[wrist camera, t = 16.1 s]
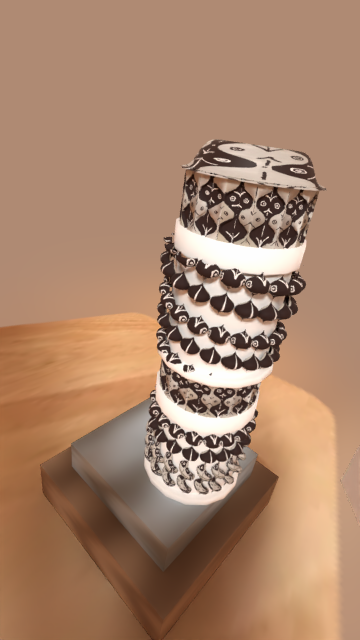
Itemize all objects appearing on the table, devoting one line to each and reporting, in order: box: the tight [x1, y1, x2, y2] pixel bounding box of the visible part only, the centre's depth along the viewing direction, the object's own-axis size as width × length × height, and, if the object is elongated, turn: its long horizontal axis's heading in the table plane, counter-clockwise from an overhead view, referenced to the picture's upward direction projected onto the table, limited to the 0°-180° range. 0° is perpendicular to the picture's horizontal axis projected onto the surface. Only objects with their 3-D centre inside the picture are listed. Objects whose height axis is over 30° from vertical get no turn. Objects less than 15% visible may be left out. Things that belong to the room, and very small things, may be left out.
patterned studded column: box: [144, 140, 326, 505], centre depth 24 cm, size 9×9×25 cm
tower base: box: [40, 398, 279, 640], centre depth 33 cm, size 16×16×7 cm
